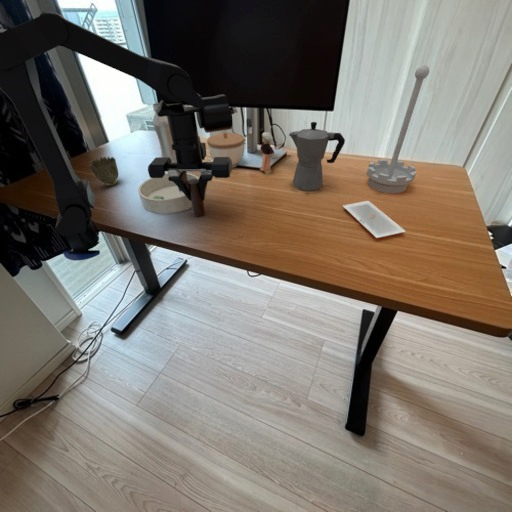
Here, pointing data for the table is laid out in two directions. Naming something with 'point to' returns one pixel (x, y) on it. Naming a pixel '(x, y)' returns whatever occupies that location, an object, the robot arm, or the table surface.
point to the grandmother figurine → (266, 152)
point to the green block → (158, 197)
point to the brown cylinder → (196, 197)
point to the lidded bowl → (227, 146)
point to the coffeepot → (312, 155)
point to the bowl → (164, 195)
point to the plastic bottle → (163, 135)
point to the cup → (105, 170)
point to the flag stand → (397, 152)
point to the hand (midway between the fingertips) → (197, 199)
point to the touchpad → (373, 219)
